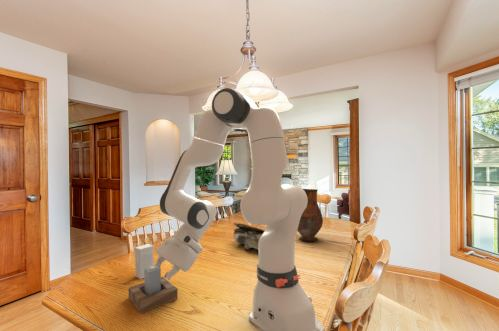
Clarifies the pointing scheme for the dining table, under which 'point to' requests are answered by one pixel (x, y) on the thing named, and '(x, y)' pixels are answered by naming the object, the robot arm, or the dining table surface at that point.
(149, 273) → the post
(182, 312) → the dining table surface
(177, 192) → the robot arm
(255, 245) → the hollow geode rock
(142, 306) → the socket block
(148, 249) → the skincare box
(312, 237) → the brown vase
